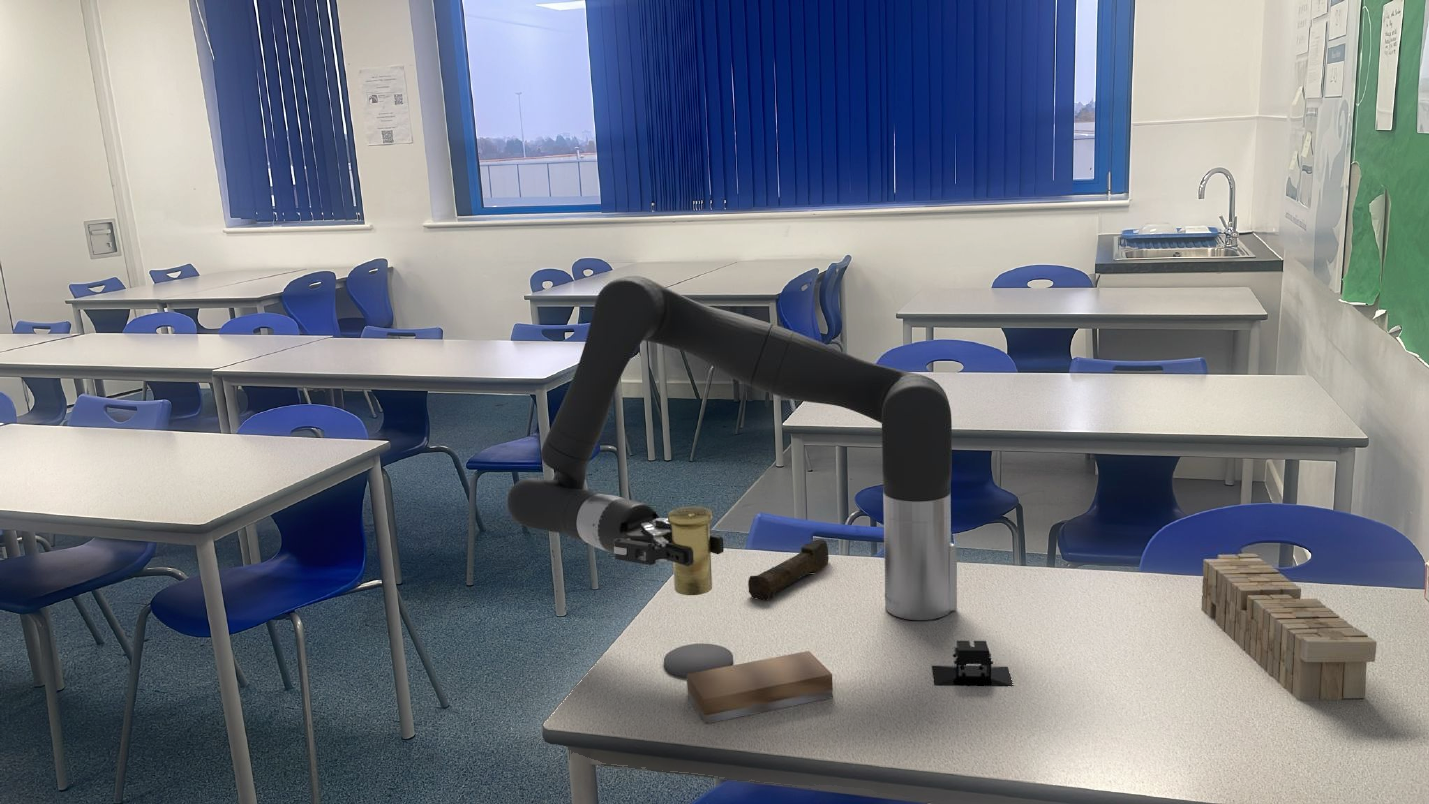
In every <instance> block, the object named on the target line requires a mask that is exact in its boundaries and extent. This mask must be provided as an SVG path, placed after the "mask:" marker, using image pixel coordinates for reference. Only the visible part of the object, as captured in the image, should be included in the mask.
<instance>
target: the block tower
mask: <svg viewBox="0 0 1429 804" xmlns="http://www.w3.org/2000/svg"><path fill="white" fill-rule="evenodd" d="M1202 563H1203V564H1202V565H1203V566H1202V569H1203V570H1202V577H1203V578H1202V586H1201V587H1202V589H1201V593H1202V595H1201V609H1200V610H1201V611H1202V612H1203V613H1204V614H1205V615H1206V616H1208V618H1210V619H1215V620H1214V621H1215V624H1216V625H1217V626H1218V627H1219V629H1220V630H1221V631H1223V632H1225V634H1227V635H1228V636H1229V638H1230V639H1231V640H1232V641H1234V643H1235V644H1236V645H1238V646H1239V648H1240V649H1241V650H1242V651H1244V652H1245V654H1246V655H1248V656H1250V658H1251V659H1253V660H1254V661H1255V663H1256V664H1257V665H1258V666H1260V667H1261V668H1262V670H1264V672H1267V673H1266V674H1268V675H1269V676H1270V677H1271V678H1273V679H1274V680H1275V681H1276V682H1277V683H1279V685H1280V686H1281V687H1282V688H1283V689H1285V690H1286V691H1287V692H1288V693H1289V694H1291V696H1292V697H1294V698H1295V699H1296V700H1297V701H1319V700H1322V701H1324V700H1325V701H1326V700H1331V701H1332V700H1342V699H1365V698H1366V686H1367V685H1366V684H1367V683H1366V682H1367V667H1368V666H1367V664H1368V663H1374V662H1375V661H1376V653H1377V641H1376V640H1375V639H1374V638H1372V637H1369V635H1368V634H1367V633H1366V632H1365V631H1362V630H1360V629H1358V628H1357V627H1354V626H1353V625H1352V624H1350V623H1349V622H1348V621H1347V620H1346V619H1345V618H1343V617H1340V615H1339V614H1337V613H1336V612H1334V610H1333V609H1331V608H1330V607H1327V606H1326V605H1325V604H1323V603H1322V602H1321V600H1319V599H1317V598H1302V596H1301V595H1302V588H1301V587H1299V586H1298V585H1297V584H1296V583H1295V582H1293V581H1291V580H1290V579H1288V578H1287V577H1286V576H1285V575H1283V574H1281V573H1280V571H1279V570H1278V569H1276V568H1274V567H1273V566H1272V565H1270V564H1269V563H1267V562H1266V561H1264V560H1263V559H1262V558H1260V556H1259V555H1257V554H1256V553H1237V554H1218V555H1217V558H1204V559H1203V561H1202Z"/></svg>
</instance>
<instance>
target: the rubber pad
mask: <svg viewBox="0 0 1429 804" xmlns="http://www.w3.org/2000/svg"><path fill="white" fill-rule="evenodd" d="M732 665H734V655H733V653H732V651H731V650H729V649H728V648H727V647H725V646H722V645H718V644H713V643H692V644H686V645H681V646H678V647H675V648H673V649H672V650H670V651H669V652H668V653H666V654H665V656H664V658H663V666H664V669H665V671H666V672H667V673H668V674H671V675H673V676H675V677H677V678H678V677H679V678H683V679H687V674H690V673H695V672H701V671H706V670H711V669H716V668H722V667H727V666H732Z"/></svg>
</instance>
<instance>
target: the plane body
mask: <svg viewBox="0 0 1429 804" xmlns="http://www.w3.org/2000/svg"><path fill="white" fill-rule="evenodd" d="M833 684H834V683H833V674H832V672H831V671H830V670H829V669H828V668H827V667H826V666H825V665H824V664H823V663H822V662H821V661H820V660H819V659H818V658H817V657H816V656H815V655H814V654H813V653H812V652H811V651H810V650H806V651H802V652H796V653H791V654H785V655H779V656H774V657H770V658H765V659H760V660H759V659H758V660H754V661H749V662H748V661H747V662H743V663H739V664H733V665H732V666H727V667H722V668H716V669H711V670H706V671H701V672H695V673H690V674H687V678H686V687H687V698H688V700H689V701H690V703H691V705H693V708H694V709H695V711H696V712H697V713H698V715H699V716H700V718H701V720H702V721H703V723H704V724H706V725H707V724H711V723H716V722H720V721H725V720H730V719H734V718H739V717H740V718H741V717H744V716H749V715H754V714H758V713H759V714H760V713H763V712H768V711H773V710H778V709H783V708H787V707H788V708H789V707H793V706H797V705H798V706H799V705H802V704H807V703H808V704H809V703H813V702H818V701H822V700H826V699H827V700H828V699H831V698H834V693H833V692H834V690H833Z"/></svg>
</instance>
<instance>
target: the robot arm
mask: <svg viewBox="0 0 1429 804" xmlns="http://www.w3.org/2000/svg"><path fill="white" fill-rule="evenodd" d="M643 341H644V342H650V343H655V344H659V345H662V346H665V347H669V348H673V349H676V350H679V351H682V352H685V353H688V354H690V355H692V356H694V357H695V358H698V359H700V360H701V361H703V362H705V363H706V364H708V365H710V366H711V367H713V368H714V369H716V370H717V371H719V372H720V373H723V375H726V376H728V377H730V378H732V379H733V380H736V381H737V382H740V383H742V384H745V385H747V386H749V387H752V388H755V389H757V390H760V391H763V392H766V393H769V394H772V395H774V396H778V397H779V398H780V397H782V398H784V399H789V400H794V401H800V402H808V403H814V404H821V405H822V404H823V405H830V406H835V407H836V406H837V407H839V408H840V407H841V408H842V409H843V408H844V409H847V410H850V411H852V412H855V413H858V414H860V415H863V416H864V417H868V418H869V419H871V420H873V421H875V422H879V423H880V424H881V447H882V448H881V452H882V454H881V455H882V460H881V461H882V466H881V467H882V468H881V469H882V485H883V486H882V488H883V489H882V492H883V494H882V495H883V497H882V498H883V503H882V504H883V541H884V542H883V549H884V551H883V553H884V557H883V558H884V603H885V604H884V605H885V610H886V611H887V612H888V613H889V614H891V615H893V616H894V617H898V618H901V619H906V620H911V621H927V620H929V621H930V620H935V619H938V618H942V617H945V616H947V615H948V614H949V613H950V612H952V611H956V610H957V609H958V552H957V551H958V549H957V548H958V547H957V545H956V544H954V543H953V542H952V540H951V538H952V537H951V534H952V532H951V531H952V529H951V528H952V527H951V525H952V524H951V523H952V521H951V520H952V518H951V517H952V515H951V510H952V509H951V507H952V506H951V505H952V503H951V500H952V499H951V498H952V497H951V489H952V488H951V485H952V484H951V483H952V482H951V481H952V465H953V464H952V463H953V462H952V457H953V456H952V454H953V452H952V451H953V450H952V449H953V448H952V447H953V444H952V442H953V441H952V437H953V436H952V435H953V431H952V429H953V427H952V426H953V423H952V411H951V410H952V409H951V406H950V402H949V399H948V395H947V393H946V392H945V390H944V388H943V387H942V385H940V383H938V382H937V381H936V380H934V379H933V378H931V377H928V376H926V375H923V374H918V373H916V372H909V371H905V370H902V369H901V370H900V369H897V368H893V367H889V366H885V365H880V364H876V363H872V362H869V361H866V360H863V359H860V358H857V357H855V356H852V355H850V354H849V353H846V352H844V351H842V350H840V349H837V348H835V347H833V346H831V345H828V344H826V343H824V342H821V341H818V340H816V339H814V338H810V337H808V336H806V335H803V334H801V333H798V332H796V331H793V330H790V329H788V328H785V327H782V326H779V325H776V324H773V323H771V322H767V321H763V320H762V319H760V320H759V319H757V318H754V317H751V316H747V315H744V314H740V313H736V312H732V311H728V310H723V309H719V308H716V307H712V306H709V305H705V304H704V303H703V304H702V303H700V302H698V301H696V300H693V299H690V298H689V297H687V296H684V295H682V294H680V293H678V292H676V291H673V290H672V289H670V288H667V287H665V286H663V285H661V284H659V282H656V281H653V280H651V279H650V278H647V277H643V276H640V275H629V276H624V277H619V278H616V279H614V280H611V281H610V282H608V283H607V284H606V285H604V286H603V287H602V289H601V290H600V291H599V293H598V294H597V297H596V300H595V303H594V307H593V312H592V315H591V319H590V323H589V327H588V331H587V335H586V339H585V343H584V346H583V349H582V352H581V355H580V358H579V361H578V364H577V367H576V370H575V373H574V375H573V378H572V380H571V382H570V385H569V386H568V389H567V391H566V394H565V395H564V398H563V400H562V402H561V404H560V407H559V408H558V411H557V413H556V415H555V417H554V420H553V422H552V424H551V427H550V429H549V431H548V433H547V436H546V437H545V440H544V442H543V445H542V447H541V451H540V458H541V460H542V462H543V463H544V464H545V465H546V466H547V467H549V468H550V469H551V470H554V471H555V474H554V477H553V479H547V478H546V479H545V478H539V477H537V478H536V477H527V478H523V479H521V480H518V481H517V482H516V483H515V484H513V486H512V487H511V488H510V490H509V492H508V494H507V498H506V504H507V509H508V512H509V515H510V516H511V518H512V519H513V520H514V521H515V522H516V523H517V524H519V525H521V526H523V527H526V528H530V529H534V530H540V531H545V532H552V533H557V534H562V535H564V536H568V537H570V538H572V539H574V540H578V541H582V542H584V543H586V544H589V545H591V546H592V547H595V548H596V549H599V550H601V551H606V552H608V553H612V554H614V559H615V560H617V561H618V560H619V561H624V562H629V563H635V564H641V565H642V564H643V565H648V566H652V565H653V566H654V565H655V564H656V561H659V562H661V563H667V562H672V563H673V562H675V563H679V564H682V565H685V566H690V565H692V564H693V563H694V559H693V550H692V549H691V548H689V547H686V546H683V545H679V544H676V543H673V542H672V528H671V524H670V523H669V522H668V517H667V518H665V517H660V516H659V515H658V513H657V512H656V510H655V509H654V508H653V507H652V506H651V505H649V504H647V503H643V502H639V501H636V500H633V499H628V498H625V497H624V498H623V497H621V496H617V495H613V494H603V493H600V492H595V491H593V490H592V491H591V490H587V489H584V487H585V482H586V477H587V476H586V475H587V470H588V469H587V468H588V464H589V462H590V460H591V458H592V456H593V453H594V451H595V449H596V447H597V445H598V442H599V440H600V439H601V437H602V433H603V432H604V429H605V426H606V423H607V419H608V417H609V415H610V414H609V413H610V409H611V405H612V402H613V399H614V396H615V392H616V389H617V387H618V384H619V382H620V379H621V378H622V375H623V373H624V371H625V369H626V367H627V365H628V363H629V362H630V360H631V359H632V357H633V355H634V354H635V353H636V351H637V349H638V348H639V347H640V345H641V344H642V342H643ZM709 526H710V527H711V523H709ZM724 546H725V545H724V538H723V537H722V536H720V535H717V534H713V533H710V550H711V554H715V555H720V554H722V553H724Z"/></svg>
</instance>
